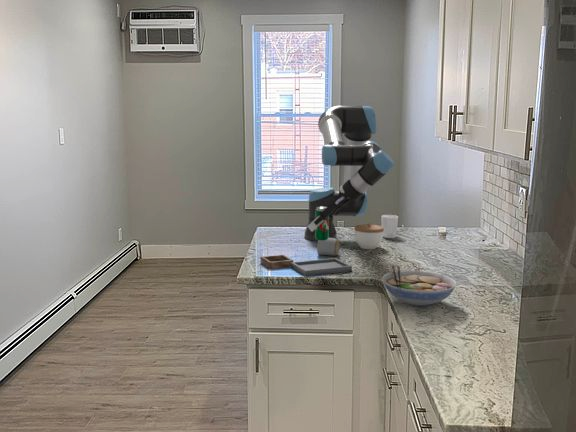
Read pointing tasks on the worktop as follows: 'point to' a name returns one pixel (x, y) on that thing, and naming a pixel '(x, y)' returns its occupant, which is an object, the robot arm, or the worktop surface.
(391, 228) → the white cup
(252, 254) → the worktop surface
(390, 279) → the ramen bowl
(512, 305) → the worktop surface
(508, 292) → the worktop surface
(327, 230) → the soda can
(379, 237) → the lidded bowl
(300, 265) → the grey tray
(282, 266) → the walnut collar
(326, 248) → the ceramic mug
